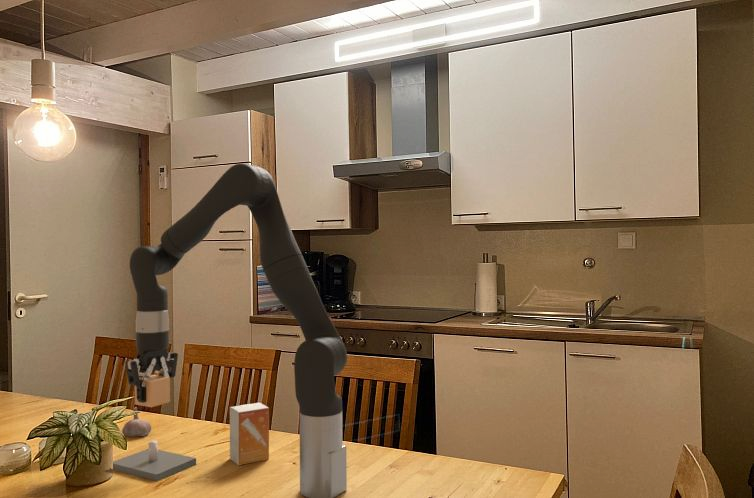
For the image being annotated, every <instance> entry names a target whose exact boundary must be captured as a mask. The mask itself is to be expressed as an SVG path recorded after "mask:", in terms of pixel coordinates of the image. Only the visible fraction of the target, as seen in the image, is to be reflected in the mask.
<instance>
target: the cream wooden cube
mask: <svg viewBox="0 0 754 498" xmlns="http://www.w3.org/2000/svg"><path fill="white" fill-rule="evenodd" d="M142 379H143V378H142ZM141 381H142V380H141ZM145 387H146V402H144V403H141V402H138V400H137V388H136V386H134V405H137V406H141V407H147V408H153V407H154V408H155V407H158V406H160V405H164V404H167V403H170V402H171V378H170V377H164V376H158V375H157V374H151V376H150V377H149V378H148V381H147V384H146V386H145Z"/></svg>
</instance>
